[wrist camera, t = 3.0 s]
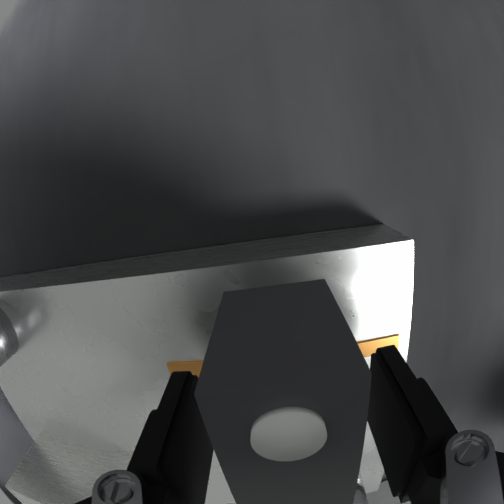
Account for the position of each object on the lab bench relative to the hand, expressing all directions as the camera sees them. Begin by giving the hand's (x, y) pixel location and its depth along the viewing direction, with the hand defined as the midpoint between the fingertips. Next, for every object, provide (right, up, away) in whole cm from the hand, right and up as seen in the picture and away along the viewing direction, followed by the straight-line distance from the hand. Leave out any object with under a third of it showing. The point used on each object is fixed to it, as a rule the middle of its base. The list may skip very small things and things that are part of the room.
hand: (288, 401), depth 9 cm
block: (0, +1, +2) cm, 2 cm away
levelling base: (-5, -3, +7) cm, 9 cm away
